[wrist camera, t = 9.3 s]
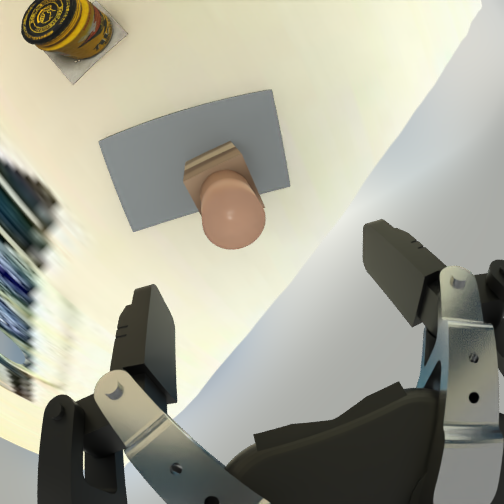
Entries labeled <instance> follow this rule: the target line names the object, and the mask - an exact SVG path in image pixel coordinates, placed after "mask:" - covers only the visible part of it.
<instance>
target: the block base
mask: <svg viewBox="0 0 504 504" xmlns="http://www.w3.org/2000/svg"><path fill="white" fill-rule="evenodd" d="M233 147H235V146H234V144H233V143H232V142H231V141H229V142H227V143H224V144H222V145H220V146H218V147H216V148H214V149H211V150H209V151H207V152H205V153H203V154H201V155H199V156H197V157H195V158H193V159H191V160H189V161H187V162H185V170H187V169H189V168H191V167H193V166H195V165H197V164H199V163H201V162H203V161H205V160H207V159H209V158H211V157H213V156H216V155H218V154H220V153H222V152H224V151H226V150H229V149H231V148H233ZM185 170H184V171H185Z"/></svg>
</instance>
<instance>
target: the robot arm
mask: <svg viewBox="0 0 504 504" xmlns="http://www.w3.org/2000/svg"><path fill="white" fill-rule="evenodd" d="M363 263H364V266H365V269H366V270H367V272H368V273H369V274H370V276H371V277H372V278H373V279H374V280H375V282H376V283H377V284H378V285H379V286H380V288H381V289H382V290H383V291H384V293H385V294H386V295H387V296H388V297H389V299H390V300H391V301H392V302H393V304H394V305H395V306H396V307H397V309H398V310H399V311H400V312H401V314H402V315H403V316H404V318H405V319H406V320H407V321H408V323H409V324H410V325H411V326H412V327H414V326H416V325H418V324H420V323H422V322H423V323H424V325H425V328H424V333H423V348H422V361H421V371H420V376H419V380H418V383H417V386H416V388H408V389H403V387H402V386H401V384H400V383H399V382H396V383H394V384H392V385H390V386H388V387H386V388H384V389H382V390H380V391H378V392H375V393H373V394H371V395H369V396H367V397H365V398H364V399H363V400H362V401H360V402H359V403H357V404H356V405H354V406H353V407H352V408H350V409H349V410H347V411H346V412H345V413H343V414H342V415H340V416H339V417H337V418H335V419H333V420H328V421H320V422H310V423H299V424H290V425H287V426H284V427H281V428H277V429H273V430H269V431H265V432H262V433H258V434H254V439H255V444H253V445H251V446H249V447H247V448H246V449H244V450H243V451H241V452H240V453H239V454H238V455H236V456H235V457H234V458H233V459H232V460H231V461H230V462H229V463H228V465H227V466H225V465H223V464H222V463H221V462H220V461H218V460H217V459H216V458H215V457H214V456H212V455H211V454H210V453H209V452H207V451H206V450H205V449H204V448H203V447H202V446H200V445H199V444H198V443H197V442H196V441H195V440H194V439H193V438H192V437H191V436H189V435H188V434H187V433H186V432H185V431H184V430H183V429H182V428H181V427H180V426H179V425H178V424H177V423H176V422H175V421H174V420H173V419H172V418H171V417H170V416H169V415H168V414H167V404H171V403H177V388H176V360H175V325H174V321H173V318H172V315H171V313H170V311H169V309H168V307H167V305H166V303H165V302H164V300H163V298H162V296H161V294H160V292H159V290H158V288H157V286H156V285H155V284H152V285H148V286H145V287H141V288H138V289H135V291H134V295H133V300H132V304H131V305H127V306H126V307H125V309H124V310H123V312H122V313H121V315H120V317H119V321H118V326H117V328H118V330H117V332H116V339H115V342H114V348H113V354H112V360H111V366H110V372H108V373H106V374H105V375H103V376H102V377H101V378H100V380H99V381H98V382H97V384H96V386H95V389H94V394H92V395H90V396H87V397H85V398H83V399H81V400H79V401H77V402H75V401H74V400H73V399H71V398H70V397H69V396H67V395H58V396H56V397H54V398H53V399H52V400H51V401H50V402H49V403H48V405H47V406H46V408H45V412H44V417H43V424H42V431H41V440H40V450H39V463H38V491H37V494H38V495H37V497H38V504H127V496H126V487H125V475H124V462H123V449H124V452H125V454H126V456H127V457H128V459H129V460H130V461H131V463H132V464H133V465H134V467H135V468H136V469H137V470H138V471H139V473H140V474H141V475H142V476H143V478H144V479H145V480H146V481H147V482H148V483H149V485H150V486H151V487H152V488H153V489H154V490H155V491H156V492H157V493H158V495H159V496H160V497H161V498H162V499H163V500H164V501H165V502H166V503H167V504H504V414H502V413H499V377H498V369H499V370H500V372H501V373H502V375H503V376H504V318H503V317H504V260H495V261H493V262H492V263H491V264H490V267H489V270H488V273H486V274H479V275H473V274H472V273H471V272H470V271H469V270H467V269H465V268H463V267H460V266H448V267H447V266H446V265H444V264H443V263H442V262H441V261H440V260H439V259H438V258H437V257H436V256H435V255H433V254H432V253H431V252H430V251H429V250H428V249H427V248H425V247H423V245H422V244H421V243H420V242H418V241H416V239H415V238H414V237H412V236H411V235H410V234H409V233H407V232H405V231H402V230H400V229H398V228H393V227H392V226H391V225H389V223H387V222H386V221H385V220H383V219H381V220H377V221H374V222H370V223H367V224H365V225H364V227H363ZM83 451H84V452H85V479H84V476H83Z"/></svg>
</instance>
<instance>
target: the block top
mask: <svg viewBox="0 0 504 504" xmlns="http://www.w3.org/2000/svg"><path fill="white" fill-rule="evenodd" d="M220 170H232V171H235V172H238V173H239V174H241V175H242V176H243V177H244V178H245V179H246V181H247V182H248V184H249V185H250V187H251V189H252V190H253V192H254V193H255V195H256V197H257V198H258V200H259V202H260V203H261V205H262V207H263V208H265V207H264V204H263V202H262V200H261V197H260V195H259V193H258V190H257V188H256V186H255V183H254V181H253V179H252V176H251V174H250V172H249V169H248V167H247V165H246V163H245V160H244V158H243V156H242V154H241V153H240V151H239V150H238V149H237V148H236V147H233V148H231V149H229V150H226V151H224V152H222V153H220V154H218V155H216V156H213V157H211V158H209V159H207V160H205V161H203V162H201V163H199V164H197V165H195V166H193V167H191V168H189V169H187V170H185V171H184V178H183V183H184V185H185V186H186V188H187V190H188V192H189V194H190V196H191V198H192V199H193V201H194V203H195V205H196V207H197V209H198V211H199V212H200V214H201V216H202V213H201V201H200V190H201V186H202V184H203V182H204V181H205V179H206V178H207V177H208V176H209V175H211V174H212V173H214V172H217V171H220Z"/></svg>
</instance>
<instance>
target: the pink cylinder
mask: <svg viewBox="0 0 504 504" xmlns="http://www.w3.org/2000/svg"><path fill="white" fill-rule="evenodd" d="M200 201H201V213H202V225H203V230H204V232H205V235H206V236H207V238H208V239H209V240H210V241H211V242H212V243H213V244H215V245H216V246H218V247H221V248H224V249H240V248H243V247H246V246H248V245H250V244H251V243H253V242H254V241H255V240H256V239H257V238H258V237H259V236H260V234H261V233H262V231H263V229H264V225H265V212H264V209H263V207H262V205H261V203H260V202H259V200H258V198H257V197H256V195H255V193H254V192H253V190H252V189H251V187H250V185H249V184H248V182H247V181H246V179H245V178H244V177H243V176H242V175H241V174H239V173H238V172H235V171H232V170H220V171H217V172H214V173H212V174H211V175H209V176H208V177H207V178H206V179H205V181H204V182H203V184H202V186H201V190H200Z"/></svg>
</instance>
